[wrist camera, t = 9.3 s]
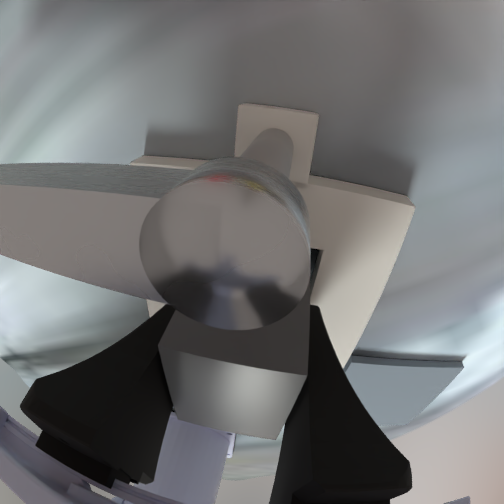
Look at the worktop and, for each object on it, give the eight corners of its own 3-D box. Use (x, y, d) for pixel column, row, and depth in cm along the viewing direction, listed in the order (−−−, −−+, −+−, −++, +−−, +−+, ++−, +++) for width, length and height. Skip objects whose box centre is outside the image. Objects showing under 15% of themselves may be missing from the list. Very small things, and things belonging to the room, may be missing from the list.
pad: (405, 419, 18) (406, 424, 18) (313, 416, 19) (312, 422, 18) (461, 361, 14) (463, 367, 13) (350, 355, 14) (351, 362, 14)
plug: (289, 324, 14) (275, 440, 9) (216, 311, 14) (177, 419, 9) (310, 242, 11) (307, 375, 6) (219, 227, 12) (157, 345, 7)
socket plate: (336, 364, 15) (335, 464, 10) (162, 332, 16) (120, 420, 11) (422, 139, 8) (528, 213, 3) (143, 100, 9) (13, 138, 4)
